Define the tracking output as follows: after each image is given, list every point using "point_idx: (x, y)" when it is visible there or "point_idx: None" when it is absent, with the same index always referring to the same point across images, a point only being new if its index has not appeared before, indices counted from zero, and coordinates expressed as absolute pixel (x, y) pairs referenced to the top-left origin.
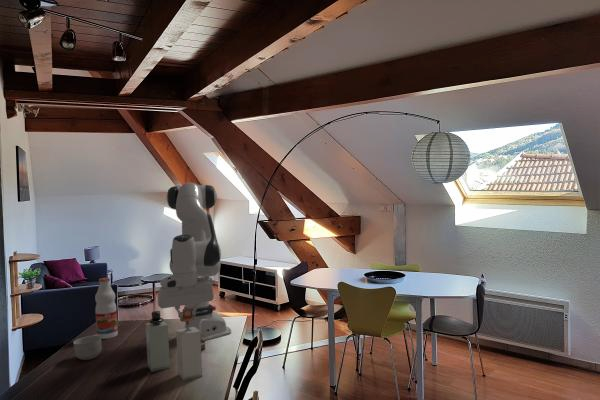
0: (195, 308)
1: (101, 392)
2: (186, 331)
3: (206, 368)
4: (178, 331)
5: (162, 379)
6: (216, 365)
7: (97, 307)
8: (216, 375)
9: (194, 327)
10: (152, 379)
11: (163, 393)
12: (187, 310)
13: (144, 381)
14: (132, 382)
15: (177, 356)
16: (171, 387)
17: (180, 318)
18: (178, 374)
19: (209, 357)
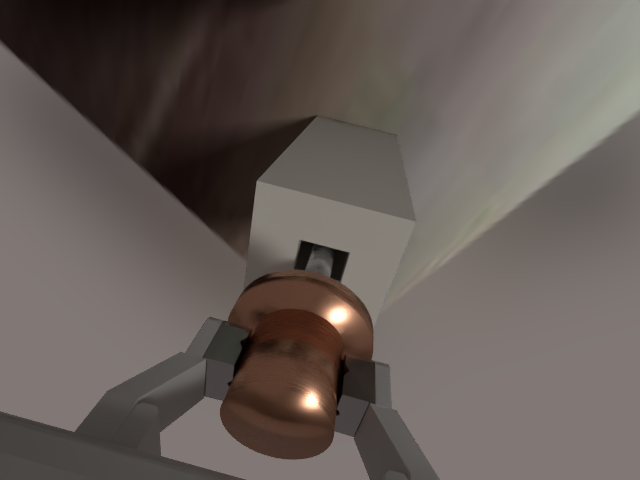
0: (370, 476)
1: (23, 43)
2: (307, 263)
3: (442, 144)
4: (255, 231)
5: (248, 108)
6: (495, 147)
7: None
8: (416, 235)
9: (401, 241)
10: (215, 73)
11: (214, 225)
12: (262, 452)
13: (183, 68)
14: (137, 35)
15: (302, 132)
16: (249, 204)
17: (231, 321)
18: (317, 116)
19: (573, 2)
